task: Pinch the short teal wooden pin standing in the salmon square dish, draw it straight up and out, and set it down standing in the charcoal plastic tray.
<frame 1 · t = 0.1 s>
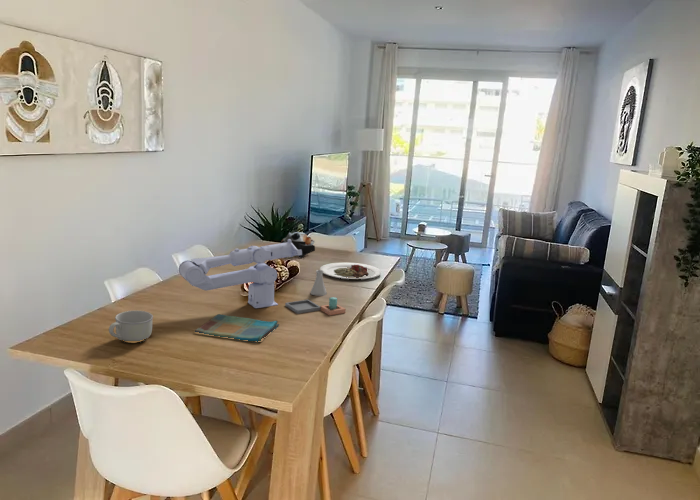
hand: (309, 246, 207), 22 cm above the table, tool horizontal, fingers open, 7 cm apart
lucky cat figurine: (297, 253, 289), on the table
teacup: (130, 341, 160), on the table
salmon square dish: (332, 311, 197), on the table
pin: (332, 311, 196), resting on salmon square dish
dish towel: (237, 331, 174), on the table
plated food: (350, 274, 254), on the table
flask: (318, 294, 218), on the table
tray: (302, 308, 198), on the table
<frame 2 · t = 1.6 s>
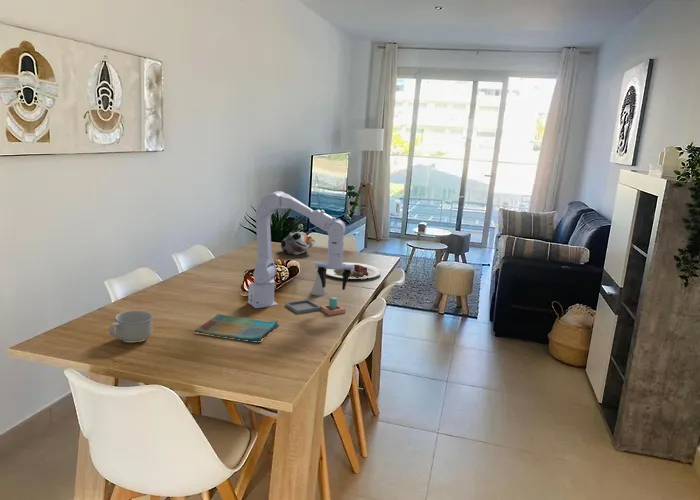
hand: (333, 288, 194), 9 cm above the table, tool pointing down, fingers open, 7 cm apart
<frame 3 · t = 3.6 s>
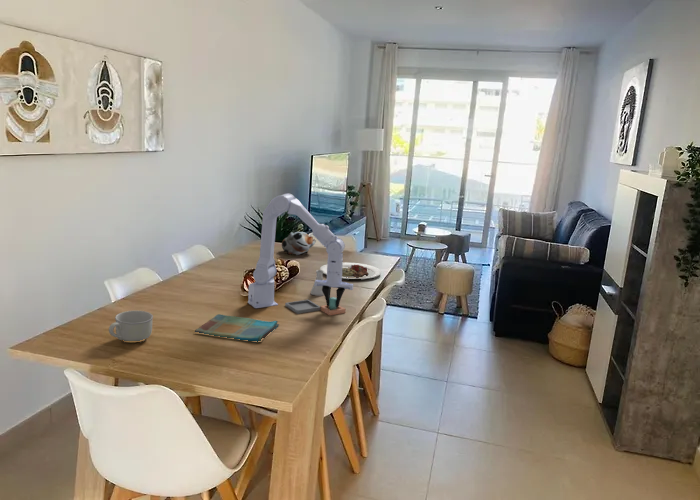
hand: (332, 305, 196), 2 cm above the table, tool pointing down, fingers closed on pin, 3 cm apart
pin: (332, 311, 196), resting on salmon square dish, touching gripper
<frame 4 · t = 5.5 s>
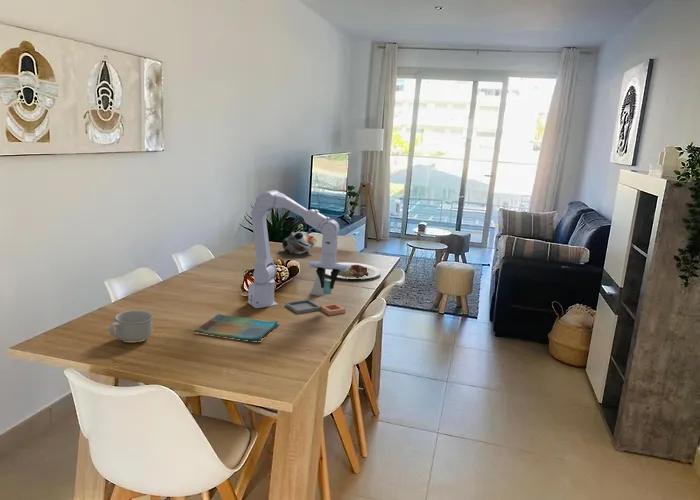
hand: (327, 287, 195), 9 cm above the table, tool pointing down, fingers closed on pin, 3 cm apart
pin: (327, 293, 195), point 7 cm above the table, touching gripper
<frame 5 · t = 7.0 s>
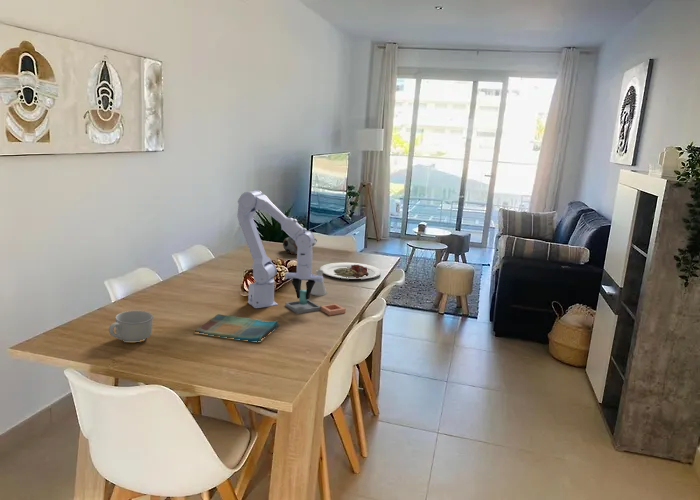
hand: (303, 298, 197), 4 cm above the table, tool pointing down, fingers closed on pin, 3 cm apart
pin: (303, 303, 198), point 2 cm above the table, touching gripper
when the fingers open (4 cm above the table, at t = 7.8 s): pin drops 1 cm, resting on tray.
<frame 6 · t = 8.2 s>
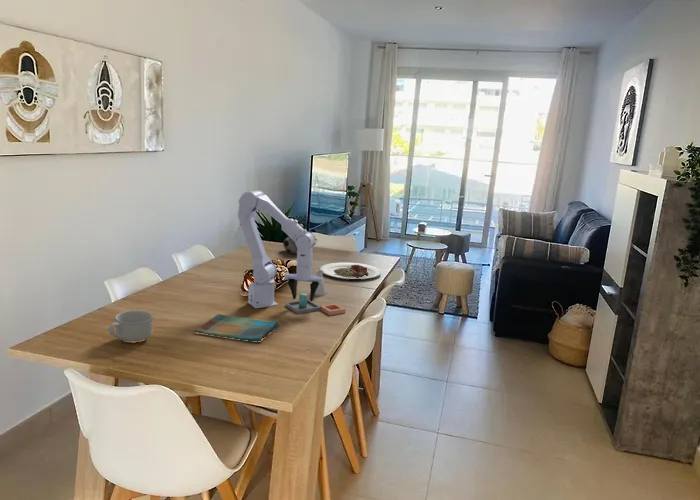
hand: (303, 299, 198), 4 cm above the table, tool pointing down, fingers open, 6 cm apart
pin: (302, 307, 198), point 1 cm above the table, touching tray
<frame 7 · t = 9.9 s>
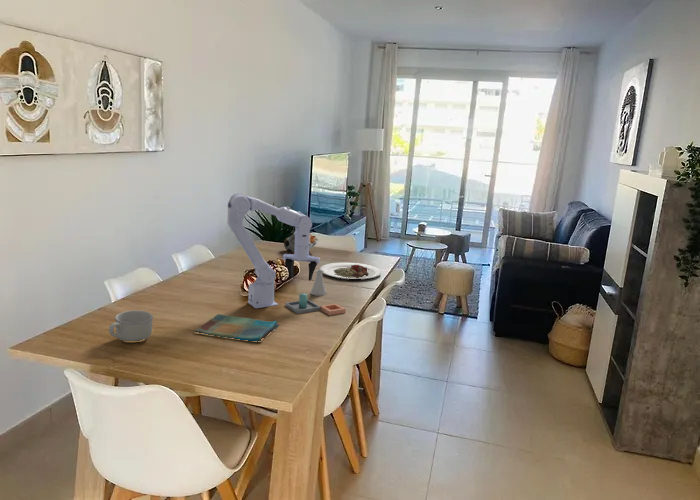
hand: (300, 278, 204), 9 cm above the table, tool pointing down, fingers open, 7 cm apart
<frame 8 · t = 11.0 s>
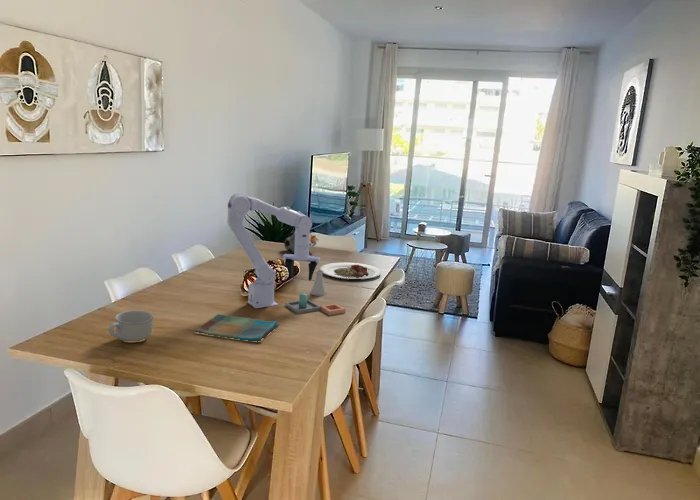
hand: (300, 278, 204), 9 cm above the table, tool pointing down, fingers open, 7 cm apart
at the end: pin inside the target area on the tray (0.0 cm from its centre), point 0.6 cm above the tray's base; pin tilted 0°; the gripper is holding nothing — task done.
